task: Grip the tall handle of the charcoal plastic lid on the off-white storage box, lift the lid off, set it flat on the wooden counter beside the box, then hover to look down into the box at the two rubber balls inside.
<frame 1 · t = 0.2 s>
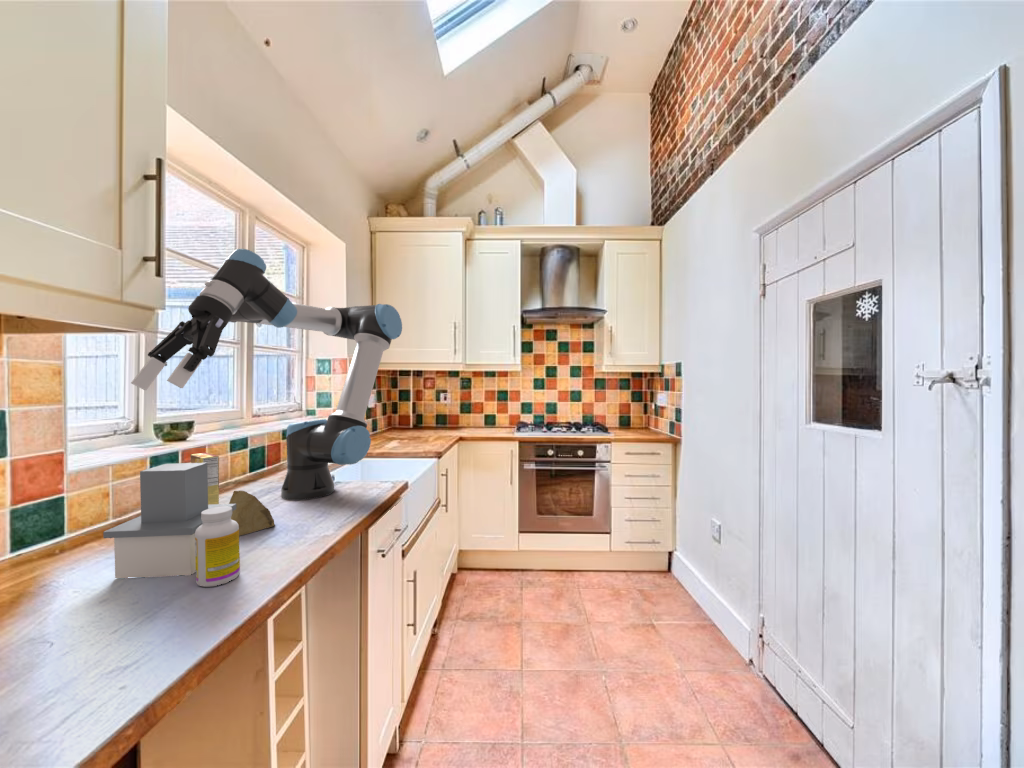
hand: (155, 385, 83), 35 cm above the counter, tool tilted 35°, fingers open, 13 cm apart
storage box: (177, 561, 85), on the counter
candy box: (205, 510, 118), on the counter
supplement bottle: (218, 580, 78), on the counter
rock: (249, 532, 101), on the counter
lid: (176, 522, 85), point 8 cm above the counter, touching storage box
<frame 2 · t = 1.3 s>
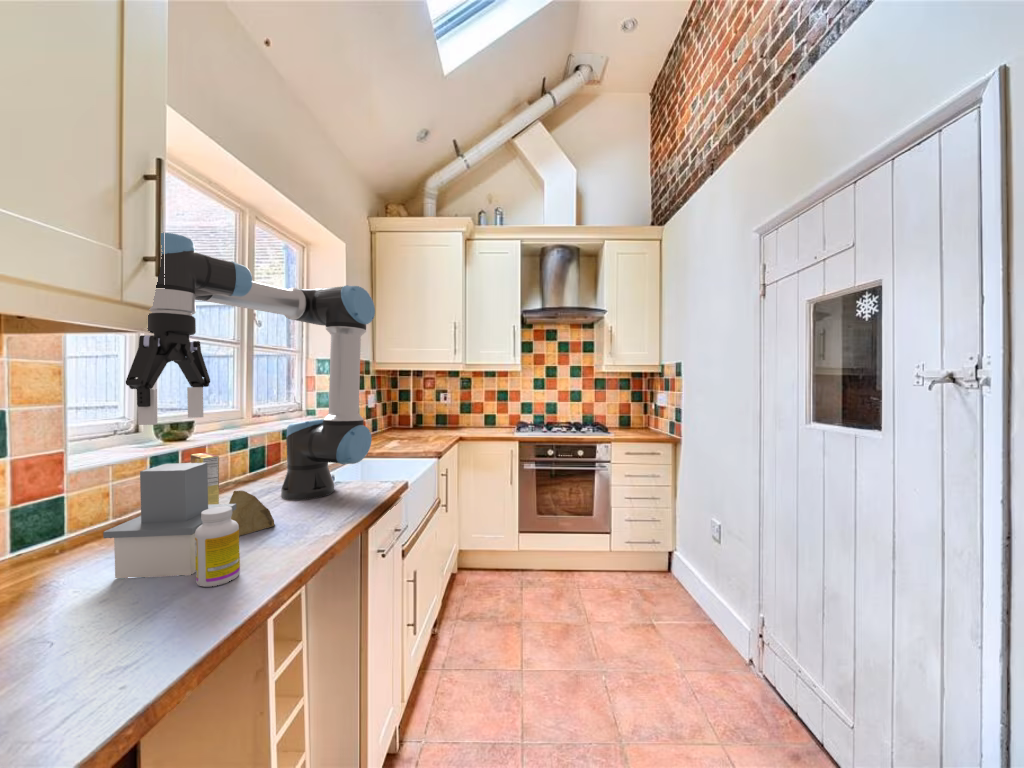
hand: (173, 420, 84), 28 cm above the counter, tool pointing down, fingers open, 13 cm apart
nothing on the counter moved.
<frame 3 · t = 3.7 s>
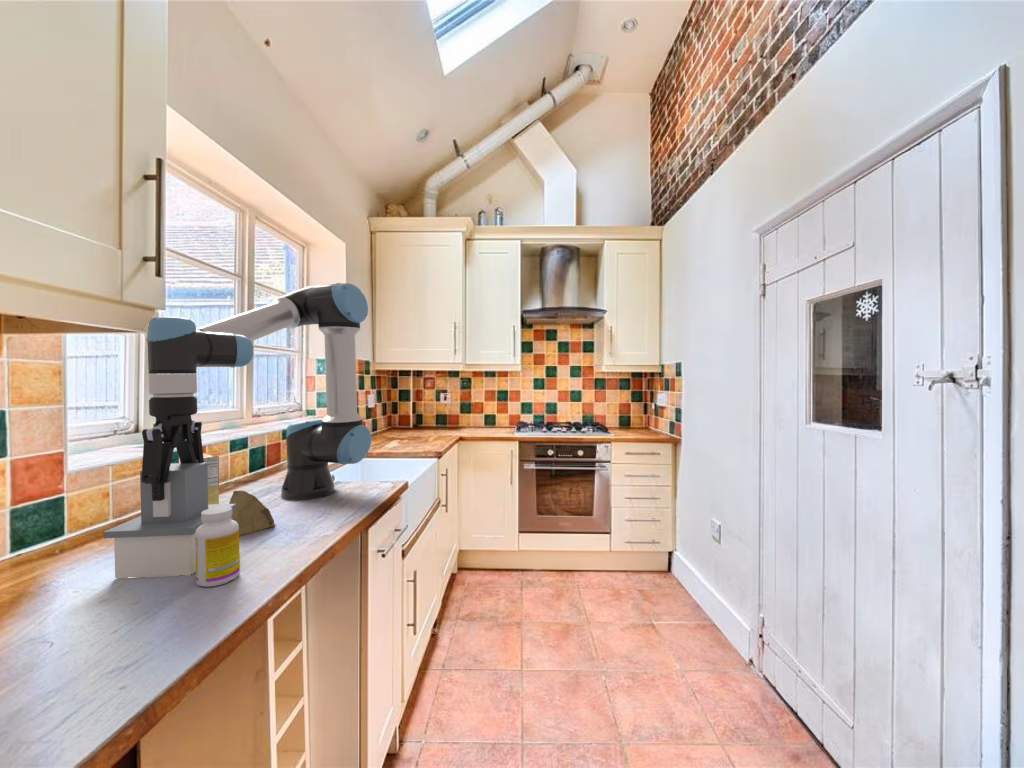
hand: (176, 509, 85), 11 cm above the counter, tool pointing down, fingers closed on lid, 7 cm apart
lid: (176, 522, 85), point 8 cm above the counter, touching gripper, storage box
everything else where it was.
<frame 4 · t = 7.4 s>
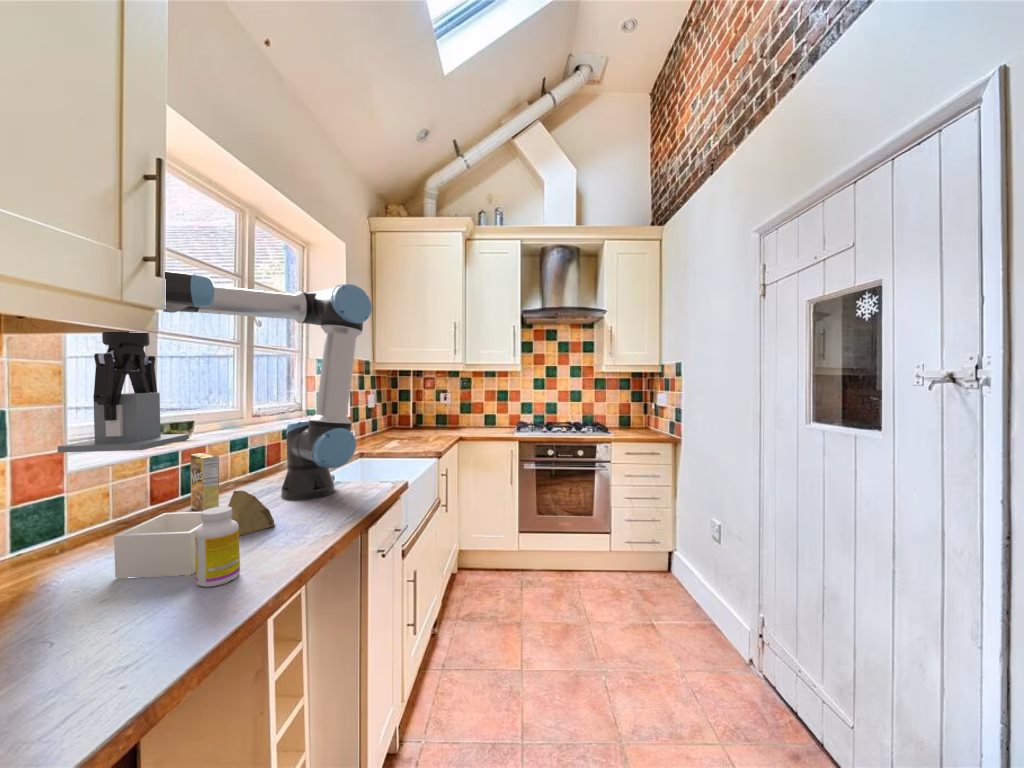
hand: (129, 433, 91), 25 cm above the counter, tool pointing down, fingers closed on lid, 7 cm apart
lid: (129, 445, 91), point 22 cm above the counter, touching gripper
everything else where it was.
when the fingers open (4 cm above the counter, at t = 11.0 s): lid drops 2 cm, on the counter.
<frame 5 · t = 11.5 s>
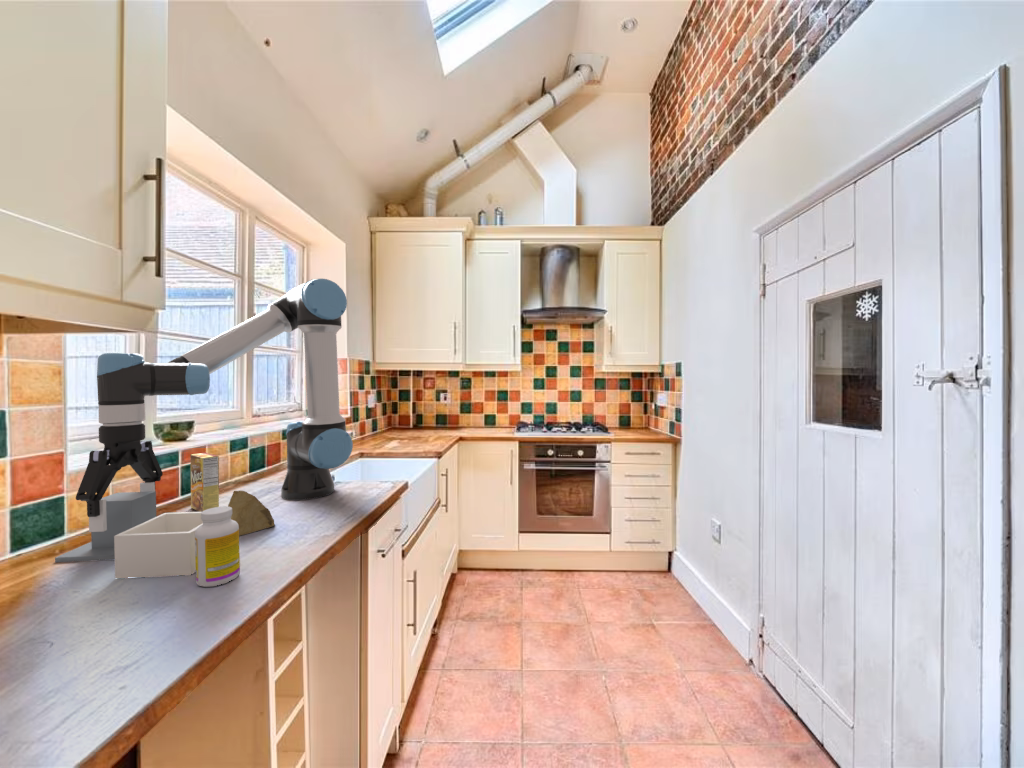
hand: (124, 519, 93), 6 cm above the counter, tool pointing down, fingers open, 13 cm apart
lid: (125, 546, 93), on the counter
everything else where it was.
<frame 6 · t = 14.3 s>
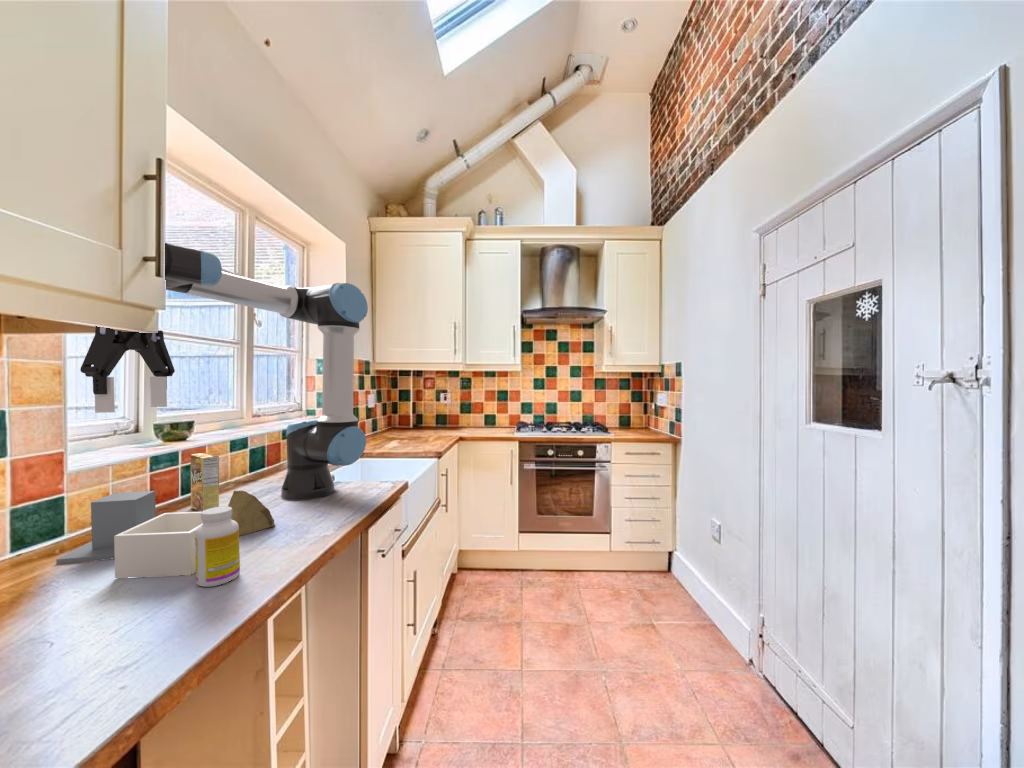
hand: (134, 409, 84), 31 cm above the counter, tool pointing down, fingers open, 13 cm apart
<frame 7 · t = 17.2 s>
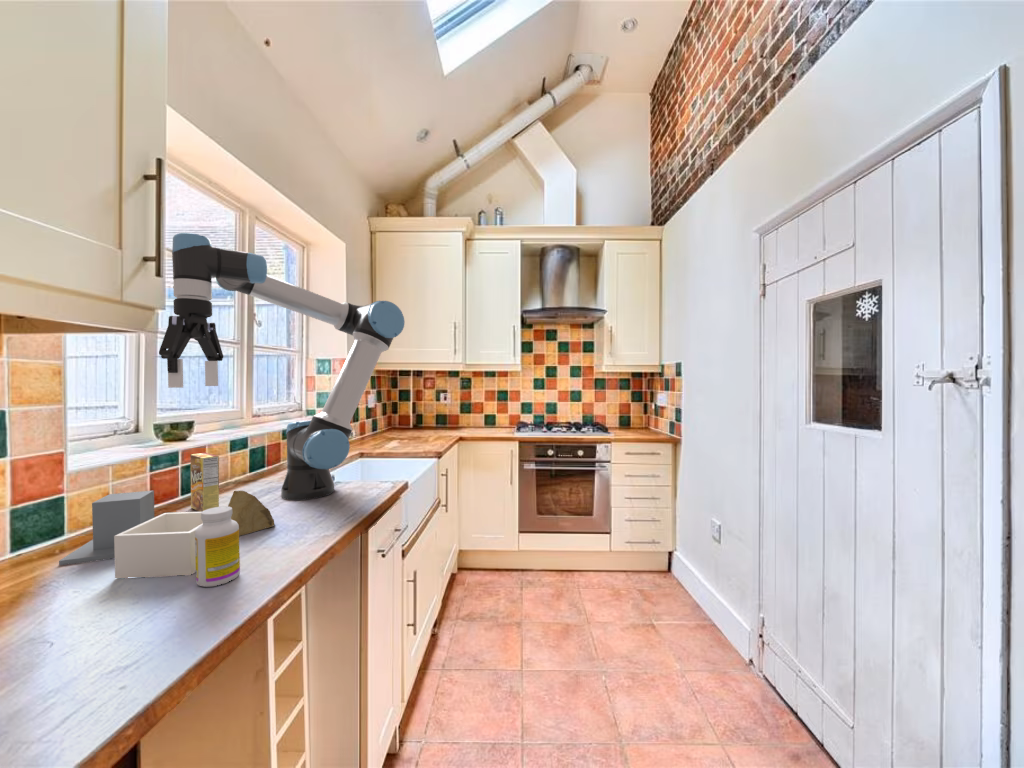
hand: (195, 386, 103), 35 cm above the counter, tool pointing down, fingers open, 13 cm apart
at the end: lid inside the target area (0.0 cm from its centre), on the counter; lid tilted 0°; the gripper is holding nothing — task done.
